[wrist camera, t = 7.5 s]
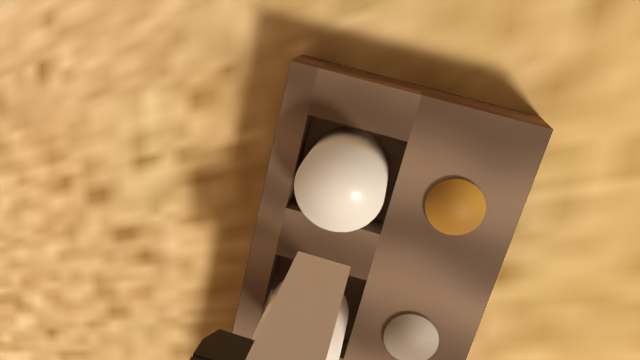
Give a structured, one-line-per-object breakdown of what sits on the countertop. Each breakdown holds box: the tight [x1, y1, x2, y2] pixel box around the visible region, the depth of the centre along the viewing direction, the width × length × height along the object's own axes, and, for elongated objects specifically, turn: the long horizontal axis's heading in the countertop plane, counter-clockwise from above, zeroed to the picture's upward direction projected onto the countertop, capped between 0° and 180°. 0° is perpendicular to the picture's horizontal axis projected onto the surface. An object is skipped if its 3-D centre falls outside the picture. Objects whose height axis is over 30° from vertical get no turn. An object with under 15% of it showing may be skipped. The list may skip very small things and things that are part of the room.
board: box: [232, 55, 553, 360], centre depth 34 cm, size 26×13×3 cm, turn 167°
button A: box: [294, 127, 389, 232], centre depth 30 cm, size 4×4×4 cm
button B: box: [252, 281, 349, 360], centre depth 31 cm, size 4×4×4 cm
